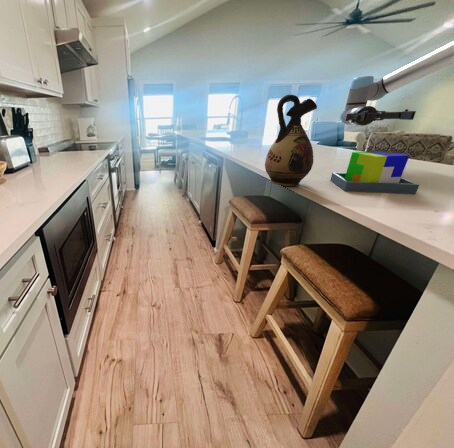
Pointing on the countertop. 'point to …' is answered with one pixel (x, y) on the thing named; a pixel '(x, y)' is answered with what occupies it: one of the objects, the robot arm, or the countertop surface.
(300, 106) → the ceramic jug
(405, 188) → the storage tray
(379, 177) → the puzzle toy
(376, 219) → the countertop surface
